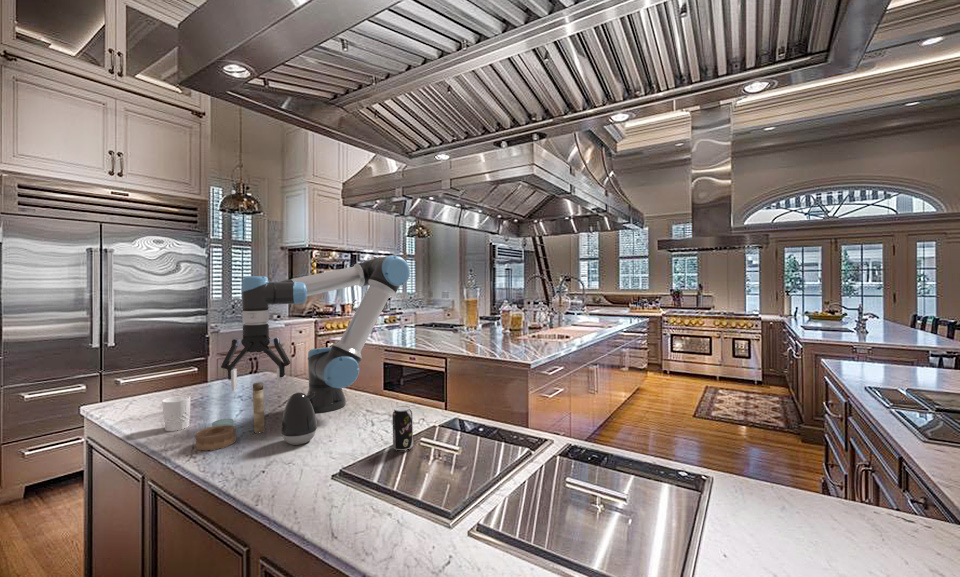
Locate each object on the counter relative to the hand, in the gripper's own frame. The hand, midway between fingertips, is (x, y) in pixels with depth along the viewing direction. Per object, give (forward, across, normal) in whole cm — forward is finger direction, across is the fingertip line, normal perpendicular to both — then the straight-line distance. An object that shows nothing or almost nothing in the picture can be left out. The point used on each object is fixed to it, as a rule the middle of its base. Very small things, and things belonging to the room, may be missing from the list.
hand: (256, 388), depth 140 cm
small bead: (+15, -12, +3) cm, 19 cm away
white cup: (+15, -28, +11) cm, 34 cm away
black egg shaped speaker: (+14, +16, -12) cm, 24 cm away
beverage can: (+14, +46, -25) cm, 55 cm away
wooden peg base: (+15, -10, -8) cm, 19 cm away
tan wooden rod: (+14, 0, 0) cm, 14 cm away
